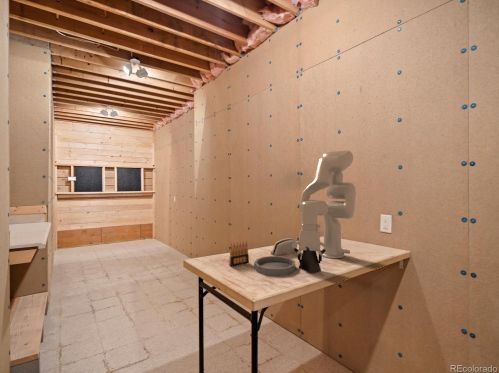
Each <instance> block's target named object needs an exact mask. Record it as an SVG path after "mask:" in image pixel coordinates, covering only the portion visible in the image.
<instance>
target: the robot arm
mask: <svg viewBox="0 0 499 373" xmlns="http://www.w3.org/2000/svg"><path fill="white" fill-rule="evenodd" d="M353 161H354V155H353V153H352V152H351V151H350V150H339V151H338V150H337V151H336V150H335V151H327V152H325V153H322V155H321V157H320V158H319V160H318V162H317V166H316V170H315V174H314V177H313V181H312V182H311V183H309V185H308V186H307V187H306V188H305V189H304V190H303V191H302V193H301V197H300V201H299V206H298V207H299V212H300V213H301V217H300V218H301V221H300V222H301V224H300V225H301V227H300V229H299V234H298V240H296V241H297V242H295V243H293V244H292V247H293V249H294V251H295V253H296V254H297V261H298V263H300V262H301V257H302V254H301V252H303V250H304V251H307V248H306V247H308V248H309V250H310V251H316V253H318V261H319V265H320V264H321V262H323V258H322V257H324V258H327V259H341V258H344V257H345V254H351V250H349V249H346V248H345V249H343V247H342V225H341V222H340V220H339V219H346V220H347V219H352V218H353V217H354V215H355V207H356V206H355V205H356V193H357V192H356V186H355V185H354V183H352V182H347V181H346V182H343V180H344V179H343V178H344V174H343V172H344V171H346V170H347V169H348V168H349V167H350V166H351V165H352V163H353ZM324 189H326V193H325V194H326V197H327V198H329V199H333V200H326V201H324V200H315V199H311V197H312V196H313V195H315V194H316V193H317V192H319V191H321V190H324ZM341 200H344V201H341ZM318 216H322V217H323V218H322V219H323V242H322V241H321V236H320V230H319V229H320V228H321V224H318ZM296 245H297V246H298V247H297V248H296V247H295V246H296ZM321 247H323V249H322V250H321Z"/></svg>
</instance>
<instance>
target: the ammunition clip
mask: <svg viewBox="0 0 499 373" xmlns="http://www.w3.org/2000/svg"><path fill="white" fill-rule="evenodd" d="M228 261H229V262H228V263H229V265H228V266H229V267H231V268H232V266H233V267H238V266H241V265H242V264H243V265H246V264H247V263H248V264H249V263H250V258H249V248H248V241H247V240H245V241H244V240H242V242H241V241H239V242H236V243H235V242H233V243H232V242H231V243H230V249H229V260H228ZM237 265H238V266H237ZM243 265H242V266H243Z"/></svg>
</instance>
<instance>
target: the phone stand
mask: <svg viewBox="0 0 499 373" xmlns="http://www.w3.org/2000/svg"><path fill="white" fill-rule="evenodd" d="M306 248H307V251H304V250H302V254H301V262H299V265H298V269H299V270H302V271H304V272H307V273H309V274H316V273H319V272H321V271H322V270H321V266H320V264H319V256H318V254H317V253H318V252H317V251H310V250H309V248H308V247H306Z"/></svg>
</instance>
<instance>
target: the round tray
mask: <svg viewBox="0 0 499 373" xmlns="http://www.w3.org/2000/svg"><path fill="white" fill-rule="evenodd" d="M253 263H254V264H253V265H254V266H253V268H254V271H256V273H259V274H263V275H266V276H273V277H274V276H276V277H279V276H287V275H290V274H293V273H294V272H296V261H295V260H293V259H292V258H289V257H285V256H280V255H277V256H275V255H269V256H263V257H259V258H257V259H256V258H255V260H254V262H253Z"/></svg>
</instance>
